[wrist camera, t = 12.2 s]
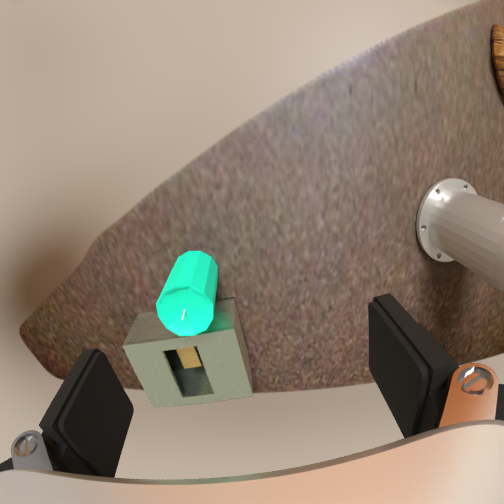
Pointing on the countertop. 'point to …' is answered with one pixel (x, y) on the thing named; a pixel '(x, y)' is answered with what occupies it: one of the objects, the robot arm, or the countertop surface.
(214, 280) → the candle
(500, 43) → the croissant
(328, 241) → the countertop surface
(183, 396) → the coin box
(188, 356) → the block
